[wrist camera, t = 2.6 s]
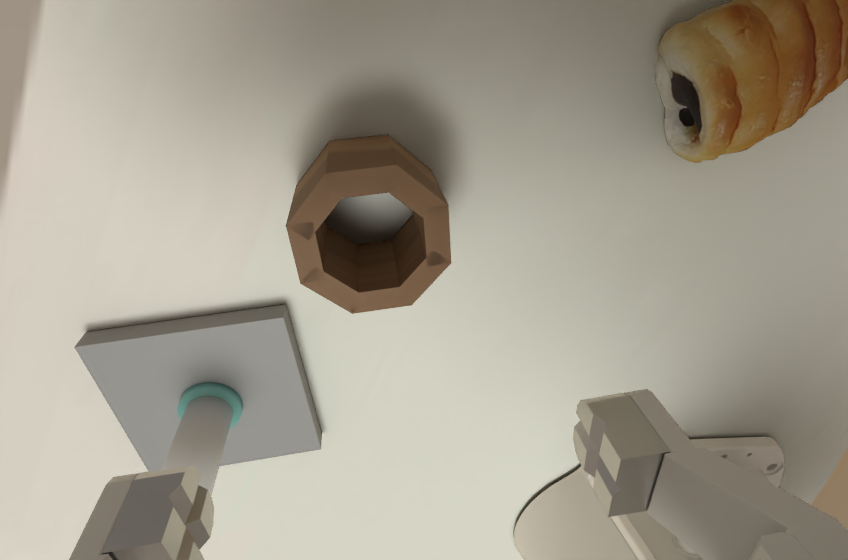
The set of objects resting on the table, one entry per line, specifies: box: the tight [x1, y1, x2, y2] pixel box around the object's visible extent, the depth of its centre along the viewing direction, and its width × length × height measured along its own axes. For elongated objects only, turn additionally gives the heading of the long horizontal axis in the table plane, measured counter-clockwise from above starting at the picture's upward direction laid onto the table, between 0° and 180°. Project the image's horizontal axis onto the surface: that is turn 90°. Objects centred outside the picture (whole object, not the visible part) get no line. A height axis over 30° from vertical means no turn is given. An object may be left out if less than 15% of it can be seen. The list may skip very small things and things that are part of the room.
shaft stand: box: [75, 304, 322, 495], centre depth 24 cm, size 10×10×7 cm
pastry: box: [655, 0, 848, 163], centre depth 20 cm, size 9×7×4 cm
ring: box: [286, 134, 451, 314], centre depth 20 cm, size 6×6×4 cm
